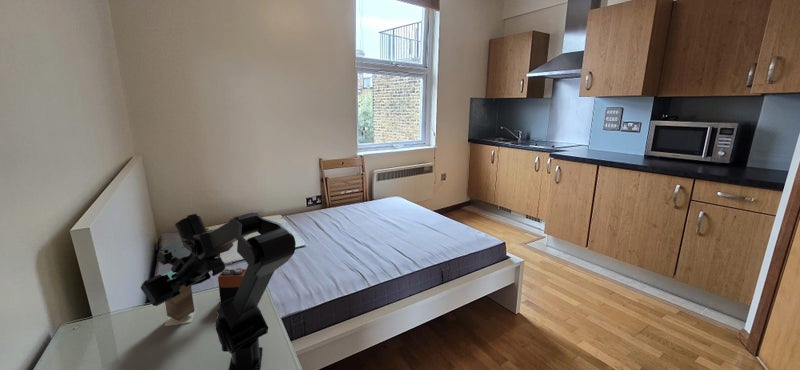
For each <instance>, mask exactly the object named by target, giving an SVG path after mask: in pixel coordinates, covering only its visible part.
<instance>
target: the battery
mask: <svg viewBox="0 0 800 370" xmlns="http://www.w3.org/2000/svg"><path fill="white" fill-rule="evenodd" d="M246 269H247V268H246ZM246 269H245V268H244V269H243V268H241V267H239V268H235V269H227V268H225V269H224V270H223V271H222V272H221V273H219V274H218V276H217V282H218V289H219V290H218V291H219V301H220V302H219V303H220V304H221V303H222V302H224V301H226V300H228V299H230V298H233V297H235V296H236V293H237V291H238V288H239V286H240V284H241V281H242V279H243V276H244V274H245V271H246Z"/></svg>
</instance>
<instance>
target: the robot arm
mask: <svg viewBox="0 0 800 370" xmlns="http://www.w3.org/2000/svg"><path fill="white" fill-rule="evenodd" d="M203 221H204V220H203V219H202V217H201V216H199V215H197V213H193V214H188V215H186V217H185V218H183V219H182V218H181V220H179V221H177V222H175V225H174V227H175V229H176V231H177V234H178V236H179V238H180V240H181V241H176V242H174V243H171V244H169V245H166V246H165V247H164V248H161V250H160V251H158V253H157V255H156V260H157V261H158V262H159V263H160V264H161V265H163V266H164V265H167V264H168V265H170V266H172V267H171V268H170V271H172V272H173V273H174V272H176V273H175V274H173V275H172V276H171V278H172V279H170V278H169V276H168V275H164V274H157V275H156V276H153V277H151V278H148V279H147V280H144V281H143V282H142V284H141V285H140V289H141V291H142V292H143V294H144V295H145V296H146V298H147V299H148V300H149V302H150V304H151V305H152V306H154V307H158V306H160V305H162V304H163V303H165V301H167V300H169V299H171V298H173V297H175V296H177V295H179V294H181V293H180V292H179V290H180V287H181V286H183V285H185V286H186V287H188V286H190V285H191V287H192V286H194V285H195V286H196V285H198V284H202V283H203V282H206V281H207V280H209V279H211V277H215V276H217V275H220V274H221V273H222V271H223V270H225V269H226V263H225V262H224V260H223V258H222V257H221V254H223V253H225V252H229V251H230V250H231V249H232V248H233V246H234V243H235V242H236V241H237V243H236V244H237V246H236V251H237V253H238V255H240V257H242V258H243V260H245V262H246V263H247V268H246V271H245V274H244V276H243V279H242V281H241V284H240V286H239V288H238V291H237V293H236V296H235V297H233V298H230V299H228V300H226V301H224V302H222V303H221V302H220V304H219V309H218V310H217V311H216V313H217V317H216V321H215V325H214V326H215V331H216V334H217V337H218V341H219V343H220V345H221V351H222V352H227V353H230V355H231V359H230V364H229V368H228V370H260V369H261V367H262V360H263V351H264V349H263V347H261V346H260V341H259V339H260V338H261V337H263V336H264V335H267V334H268V331H269V326H268V325H267V321H266V320H265V318H264V316H263V314H262V311H261V309H260V307H259V306H258V305H259V304H260V301H261V299H262V297H263V295H264V293H265V291H266V289H267V286H268V285H269V283H270V281H271V279H272V276H273V275H274V272H276V270H278V269H279V268H280V267H282V266H283V265H284V264H286V263H287V262H288V261H290V259H291V258H292V257H293V255H294V254H295V251H296V246H297V245H296V238H295V237H294V235H293V234H292V233H291V232H290V231H289V230H288V229H287V228H285V226H283V225H282V224H281V223H280V222H278V221H274V220H270V219H267V218H263V217H262V216H261V215H260V214H259V213H257V212H249V213H245V214H241V215H237V216H233V218H231V219H230V220H229V221H227V222H226V223H224V224H222V225H221V226H219V227H218V228H215V229H209V230H208V229H207V228H206V226H205V224H204V222H203ZM254 233H258V235H255V236H254V235H253V236H252V237H248V238H247V239H246V238H245V237H247V236H248V235H251V234H254ZM211 271H212V273H211V275H212V276H211V275H210V273H209V272H211ZM162 275H164V276H162ZM174 278H175V279H174ZM179 282H180V283H179Z"/></svg>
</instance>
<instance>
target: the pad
mask: <svg viewBox="0 0 800 370" xmlns="http://www.w3.org/2000/svg"><path fill="white" fill-rule="evenodd" d="M197 310H198V309H197V308H195V307H194V312H192V313H191V314H189V315H187V316H186V317H184V318H182V319H181V320H179V321H178V320H176V319H173V318H171V317H168V318H167V320H166V321H165V324H164V325H163V326H164V327H170V326H176V325H184V324H191V323H192V321H193V320H194V319H193V318H194V317H195V314H196V312H197Z"/></svg>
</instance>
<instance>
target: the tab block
mask: <svg viewBox="0 0 800 370" xmlns="http://www.w3.org/2000/svg"><path fill="white" fill-rule="evenodd" d="M175 273H176V272H174V273H173V272H172V270H170V271H168V272H166V273H164V274H161V275H162V276H164V275H168V276H169V278H170V279H172V278H171V276H172V275H173V274H175ZM174 279H175V278H174ZM179 283H180V282H179ZM179 292H180V293H181V294H179V295H177V296H175V297H173V298H171V299H169V300H167V301H165V302H164V304H165V310H166V317H168V318H169V317H171V318H173V319H176V320H178V321H179V320H181V319H182V318H184V317H186V316H187V315H189V314H191V313H192V312H194V309H195V307H194V306H195V305H194V297H193V291H192V286H191V285H190V286H188V287H186V286H185V285H183V286H181V287H180V290H179Z"/></svg>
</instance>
